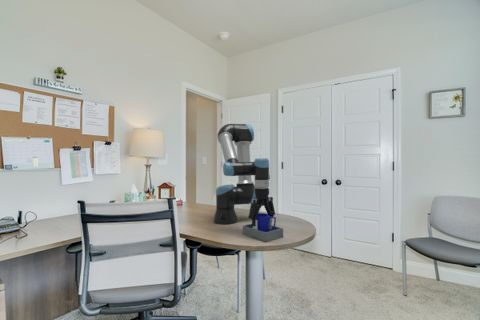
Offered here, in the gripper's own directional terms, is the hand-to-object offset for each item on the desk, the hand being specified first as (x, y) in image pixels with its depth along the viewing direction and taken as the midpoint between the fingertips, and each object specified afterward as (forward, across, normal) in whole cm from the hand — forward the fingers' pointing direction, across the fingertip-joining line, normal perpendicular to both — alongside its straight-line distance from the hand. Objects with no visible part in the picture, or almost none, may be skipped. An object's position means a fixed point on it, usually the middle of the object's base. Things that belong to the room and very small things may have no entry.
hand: (262, 230), depth 129 cm
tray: (+3, 0, 0) cm, 3 cm away
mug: (+2, +1, 0) cm, 2 cm away
